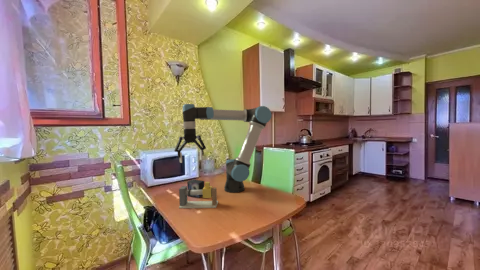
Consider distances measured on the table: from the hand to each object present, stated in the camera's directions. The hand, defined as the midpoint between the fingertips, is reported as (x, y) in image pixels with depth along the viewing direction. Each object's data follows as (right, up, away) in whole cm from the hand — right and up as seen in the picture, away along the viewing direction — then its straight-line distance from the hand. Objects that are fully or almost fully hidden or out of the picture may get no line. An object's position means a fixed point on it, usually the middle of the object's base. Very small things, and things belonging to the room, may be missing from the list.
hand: (191, 161), depth 131 cm
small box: (+1, -26, +10) cm, 27 cm away
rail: (+6, -26, -7) cm, 28 cm away
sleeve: (+12, -20, -8) cm, 25 cm away
